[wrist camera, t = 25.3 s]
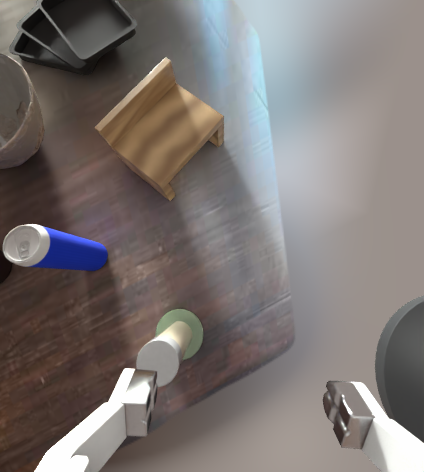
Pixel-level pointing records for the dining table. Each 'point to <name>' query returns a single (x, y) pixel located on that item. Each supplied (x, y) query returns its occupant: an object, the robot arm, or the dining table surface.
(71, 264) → the beverage can
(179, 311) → the coaster
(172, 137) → the wooden stand
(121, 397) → the robot arm
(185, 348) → the cylinder
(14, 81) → the ceramic bowl
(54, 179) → the dining table surface
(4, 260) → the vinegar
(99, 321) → the dining table surface
